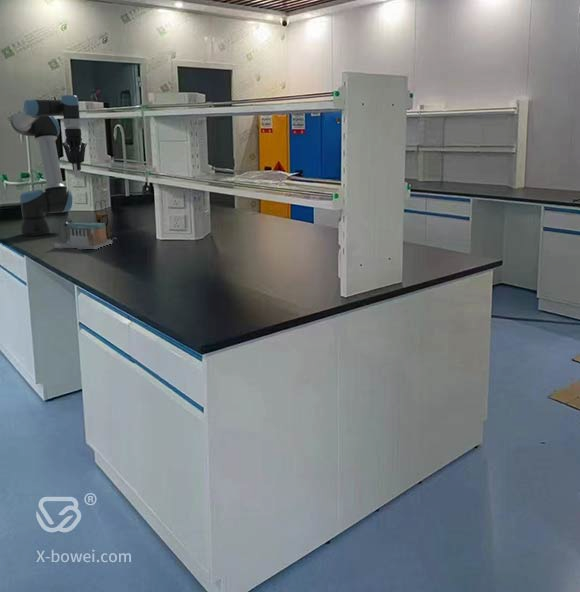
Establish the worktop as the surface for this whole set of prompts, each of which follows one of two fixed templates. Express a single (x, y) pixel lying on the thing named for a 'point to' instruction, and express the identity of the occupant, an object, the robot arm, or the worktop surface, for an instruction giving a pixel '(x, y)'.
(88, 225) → the lever
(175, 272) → the worktop surface
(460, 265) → the worktop surface
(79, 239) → the heatsink base
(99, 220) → the multimeter
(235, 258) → the worktop surface
